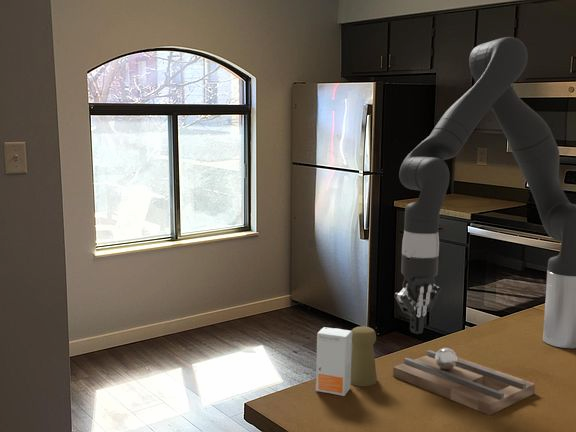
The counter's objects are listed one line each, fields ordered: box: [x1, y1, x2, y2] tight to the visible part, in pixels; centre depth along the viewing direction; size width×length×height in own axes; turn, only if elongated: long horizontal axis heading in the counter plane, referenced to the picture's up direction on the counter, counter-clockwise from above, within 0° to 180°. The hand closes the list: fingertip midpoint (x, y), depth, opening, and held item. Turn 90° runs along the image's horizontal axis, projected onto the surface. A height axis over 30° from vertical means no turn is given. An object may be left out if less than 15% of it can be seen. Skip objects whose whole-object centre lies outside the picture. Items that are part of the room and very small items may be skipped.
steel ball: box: [435, 347, 458, 370], centre depth 133 cm, size 4×4×4 cm
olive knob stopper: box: [351, 325, 378, 387], centre depth 132 cm, size 6×6×11 cm
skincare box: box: [315, 326, 353, 397], centre depth 127 cm, size 6×4×12 cm
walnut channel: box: [392, 349, 536, 416], centre depth 131 cm, size 15×23×3 cm, turn 39°
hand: (416, 332), depth 139 cm, fingers closed
